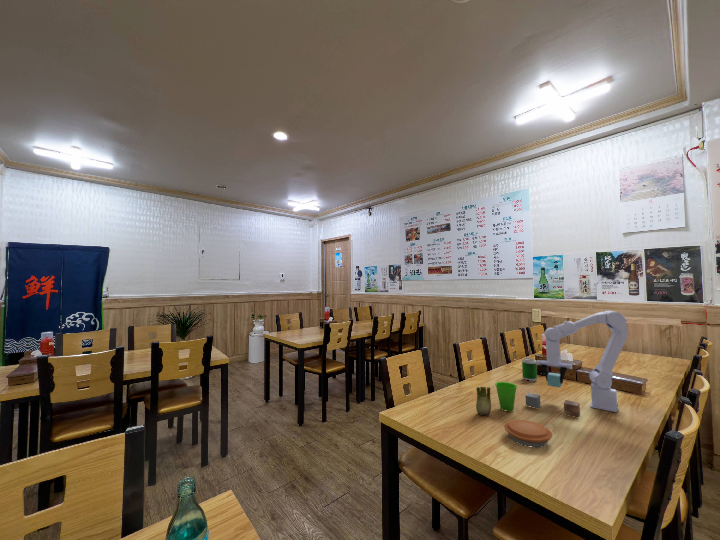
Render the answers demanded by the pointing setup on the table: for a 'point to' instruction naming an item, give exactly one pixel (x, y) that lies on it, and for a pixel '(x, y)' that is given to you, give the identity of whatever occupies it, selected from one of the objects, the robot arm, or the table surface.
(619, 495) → the table surface
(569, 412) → the walnut block
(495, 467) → the table surface
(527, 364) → the soda can
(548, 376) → the teal block
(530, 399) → the charcoal block
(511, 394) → the cup
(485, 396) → the fennel bulb
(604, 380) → the robot arm
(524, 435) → the pie
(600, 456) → the table surface
